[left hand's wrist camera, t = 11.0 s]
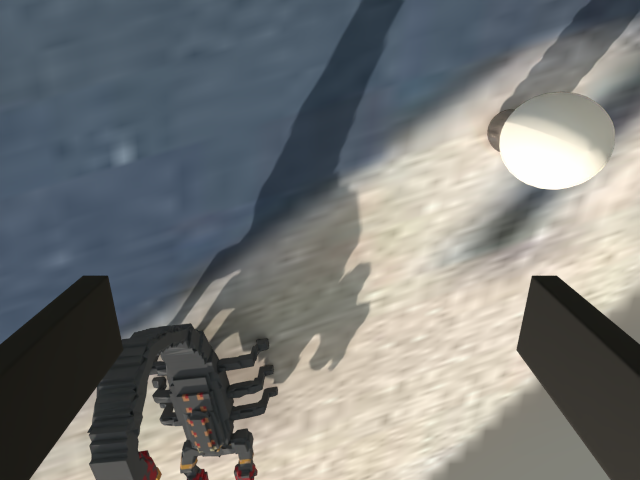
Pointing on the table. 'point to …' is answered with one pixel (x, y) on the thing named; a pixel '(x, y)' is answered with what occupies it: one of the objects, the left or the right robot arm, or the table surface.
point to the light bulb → (554, 139)
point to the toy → (174, 404)
